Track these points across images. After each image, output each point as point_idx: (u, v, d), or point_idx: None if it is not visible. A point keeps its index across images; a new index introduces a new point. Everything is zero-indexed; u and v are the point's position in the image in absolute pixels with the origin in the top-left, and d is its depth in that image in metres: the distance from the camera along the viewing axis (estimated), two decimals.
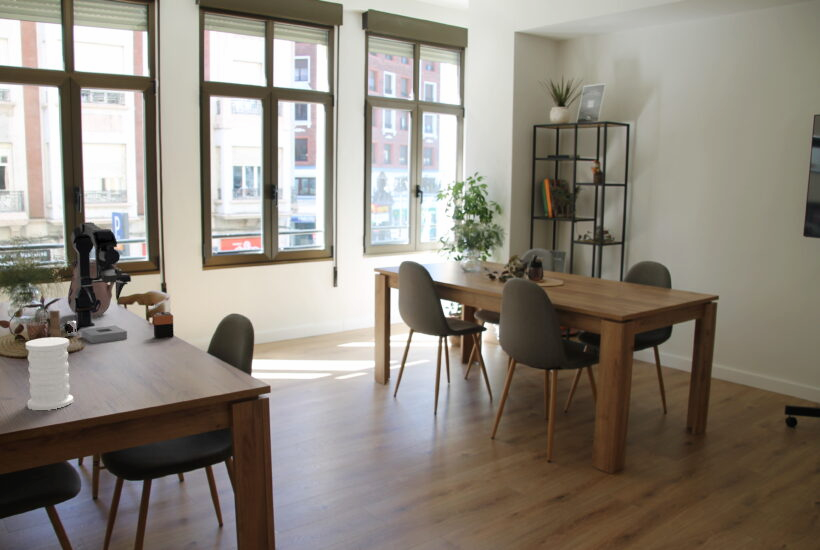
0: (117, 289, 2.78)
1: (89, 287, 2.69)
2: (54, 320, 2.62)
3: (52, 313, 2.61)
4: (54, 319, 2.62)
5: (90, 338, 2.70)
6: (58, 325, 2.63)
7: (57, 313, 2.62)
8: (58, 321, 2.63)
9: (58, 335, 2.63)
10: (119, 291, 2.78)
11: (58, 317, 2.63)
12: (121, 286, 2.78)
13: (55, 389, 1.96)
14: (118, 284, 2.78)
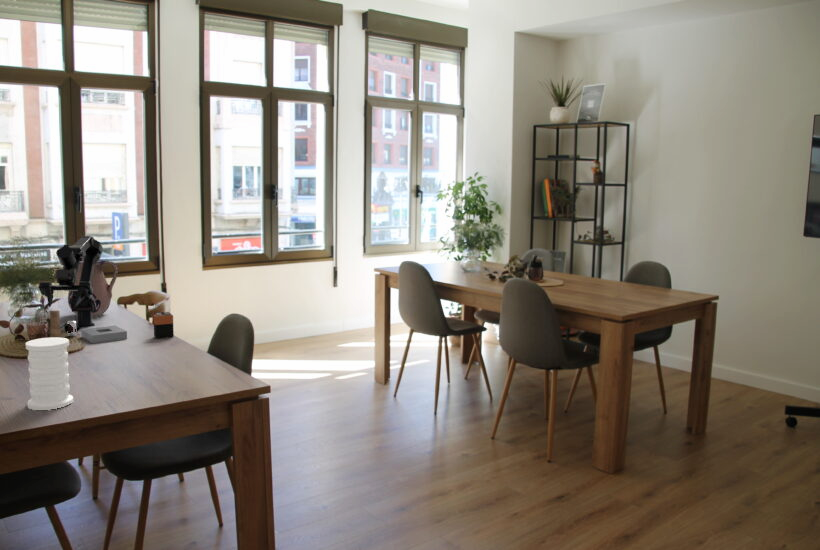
0: None
1: (46, 289, 2.71)
2: (54, 320, 2.62)
3: (52, 313, 2.61)
4: (54, 319, 2.62)
5: (90, 338, 2.70)
6: (58, 325, 2.63)
7: (57, 313, 2.62)
8: (58, 321, 2.63)
9: (58, 335, 2.63)
10: (77, 296, 2.73)
11: (58, 317, 2.63)
12: (79, 291, 2.73)
13: (55, 389, 1.96)
14: None
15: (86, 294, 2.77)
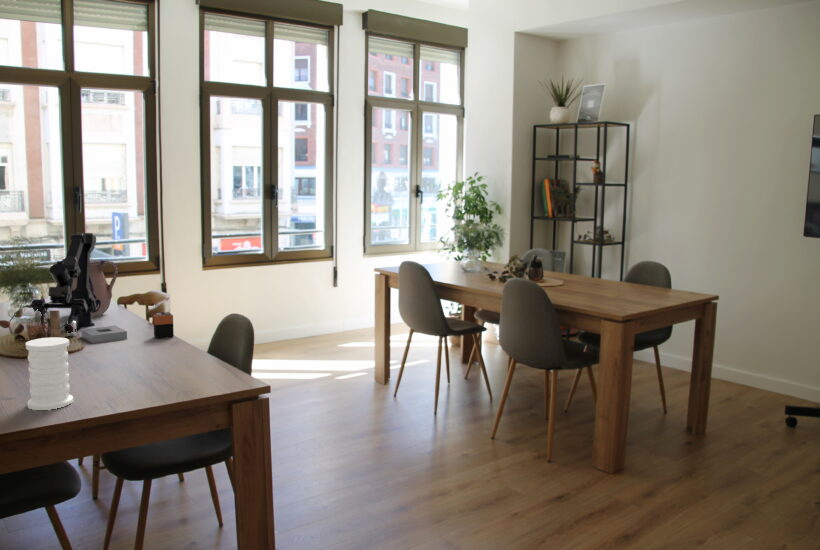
0: None
1: (38, 306, 2.64)
2: (54, 320, 2.62)
3: (52, 313, 2.61)
4: (54, 319, 2.62)
5: (90, 338, 2.70)
6: (58, 325, 2.63)
7: (57, 313, 2.62)
8: (58, 321, 2.63)
9: (58, 335, 2.63)
10: (71, 314, 2.66)
11: (58, 317, 2.63)
12: (73, 309, 2.66)
13: (55, 389, 1.96)
14: None
15: (80, 312, 2.70)
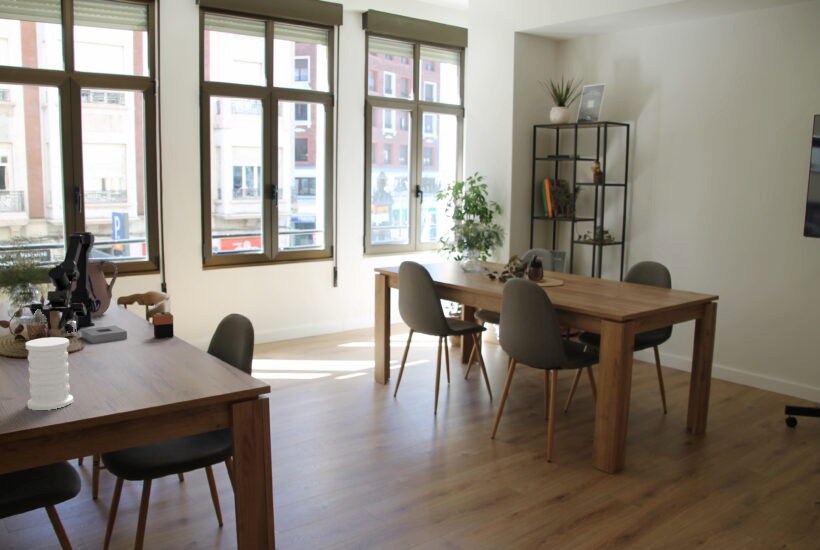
0: None
1: (45, 311, 2.64)
2: (54, 320, 2.62)
3: (52, 313, 2.61)
4: (54, 319, 2.62)
5: (90, 338, 2.70)
6: (58, 325, 2.63)
7: (57, 313, 2.62)
8: (58, 321, 2.63)
9: (58, 335, 2.63)
10: (61, 319, 2.64)
11: (58, 317, 2.63)
12: (64, 313, 2.65)
13: (55, 389, 1.96)
14: None
15: (71, 316, 2.68)
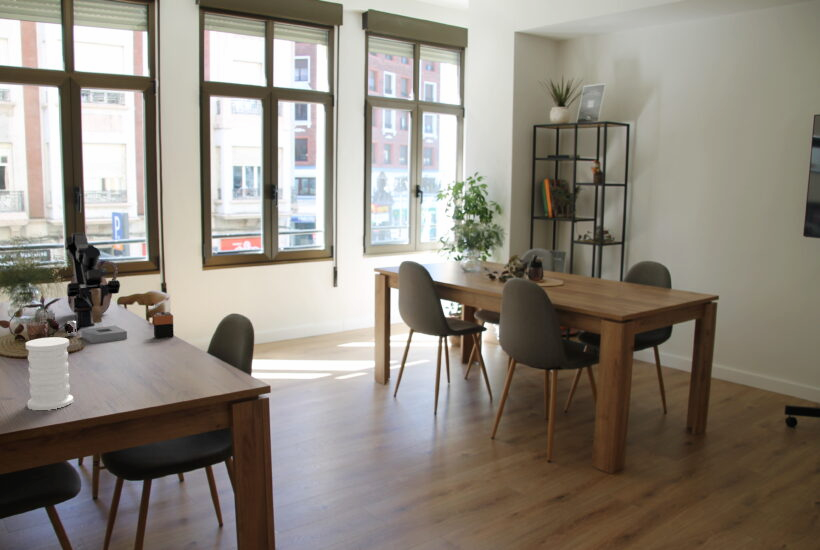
0: None
1: (85, 289, 2.72)
2: (97, 297, 2.72)
3: (95, 290, 2.71)
4: (97, 297, 2.72)
5: (90, 338, 2.70)
6: (100, 302, 2.73)
7: (99, 290, 2.73)
8: (100, 298, 2.73)
9: (100, 312, 2.74)
10: (102, 296, 2.75)
11: (100, 294, 2.73)
12: (103, 290, 2.75)
13: (55, 389, 1.96)
14: None
15: (106, 293, 2.79)
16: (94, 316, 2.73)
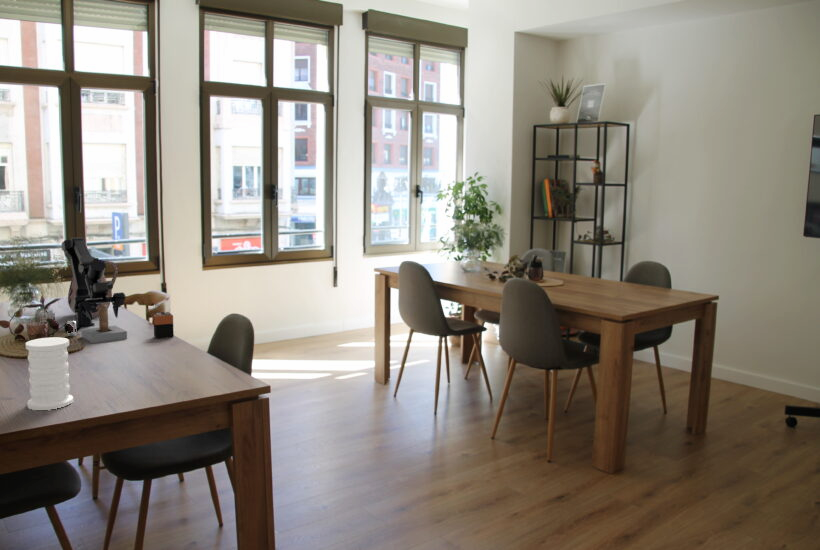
0: (114, 307, 2.80)
1: (84, 303, 2.73)
2: (105, 314, 2.76)
3: (103, 307, 2.75)
4: (105, 313, 2.75)
5: (90, 338, 2.70)
6: (107, 318, 2.77)
7: (107, 307, 2.76)
8: (107, 314, 2.77)
9: (107, 327, 2.77)
10: (116, 307, 2.80)
11: (107, 310, 2.77)
12: (117, 302, 2.81)
13: (55, 389, 1.96)
14: (114, 303, 2.81)
15: (119, 305, 2.84)
16: None
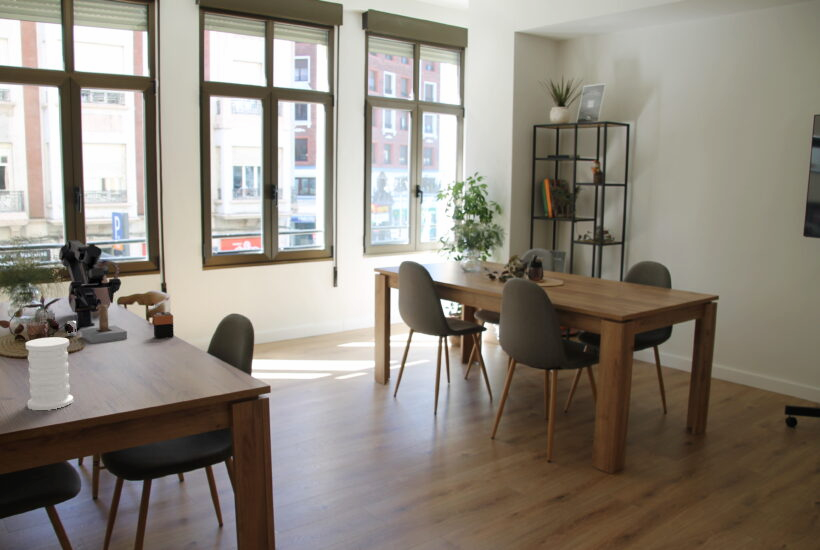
0: (110, 293, 2.83)
1: (80, 288, 2.76)
2: (105, 314, 2.76)
3: (103, 307, 2.75)
4: (105, 313, 2.75)
5: (90, 338, 2.70)
6: (107, 318, 2.77)
7: (107, 307, 2.76)
8: (107, 314, 2.77)
9: (107, 327, 2.77)
10: (112, 293, 2.83)
11: (107, 310, 2.77)
12: (112, 288, 2.84)
13: (55, 389, 1.96)
14: (110, 288, 2.84)
15: (114, 290, 2.87)
16: None
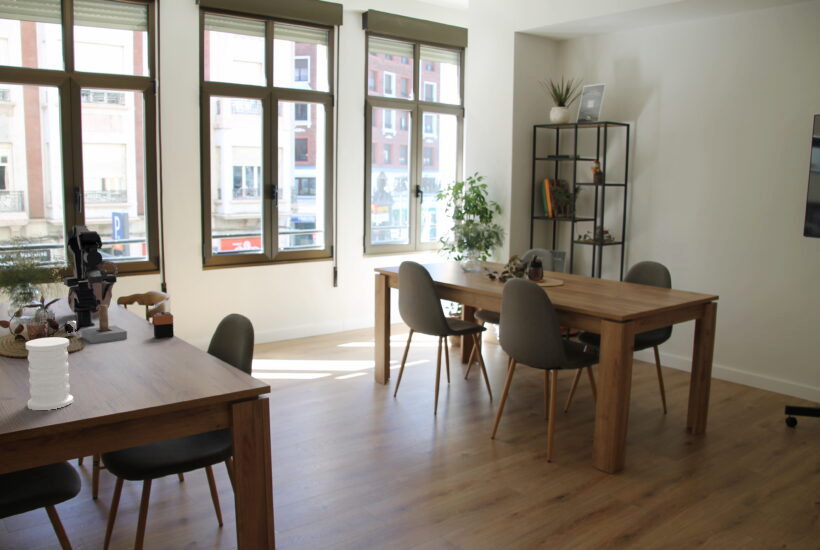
0: (103, 290, 2.86)
1: (75, 288, 2.77)
2: (105, 314, 2.76)
3: (103, 307, 2.75)
4: (105, 313, 2.75)
5: (90, 338, 2.70)
6: (107, 318, 2.77)
7: (107, 307, 2.76)
8: (107, 314, 2.77)
9: (107, 327, 2.77)
10: (105, 291, 2.86)
11: (107, 310, 2.77)
12: (107, 287, 2.85)
13: (55, 389, 1.96)
14: (104, 285, 2.85)
15: None
16: None
